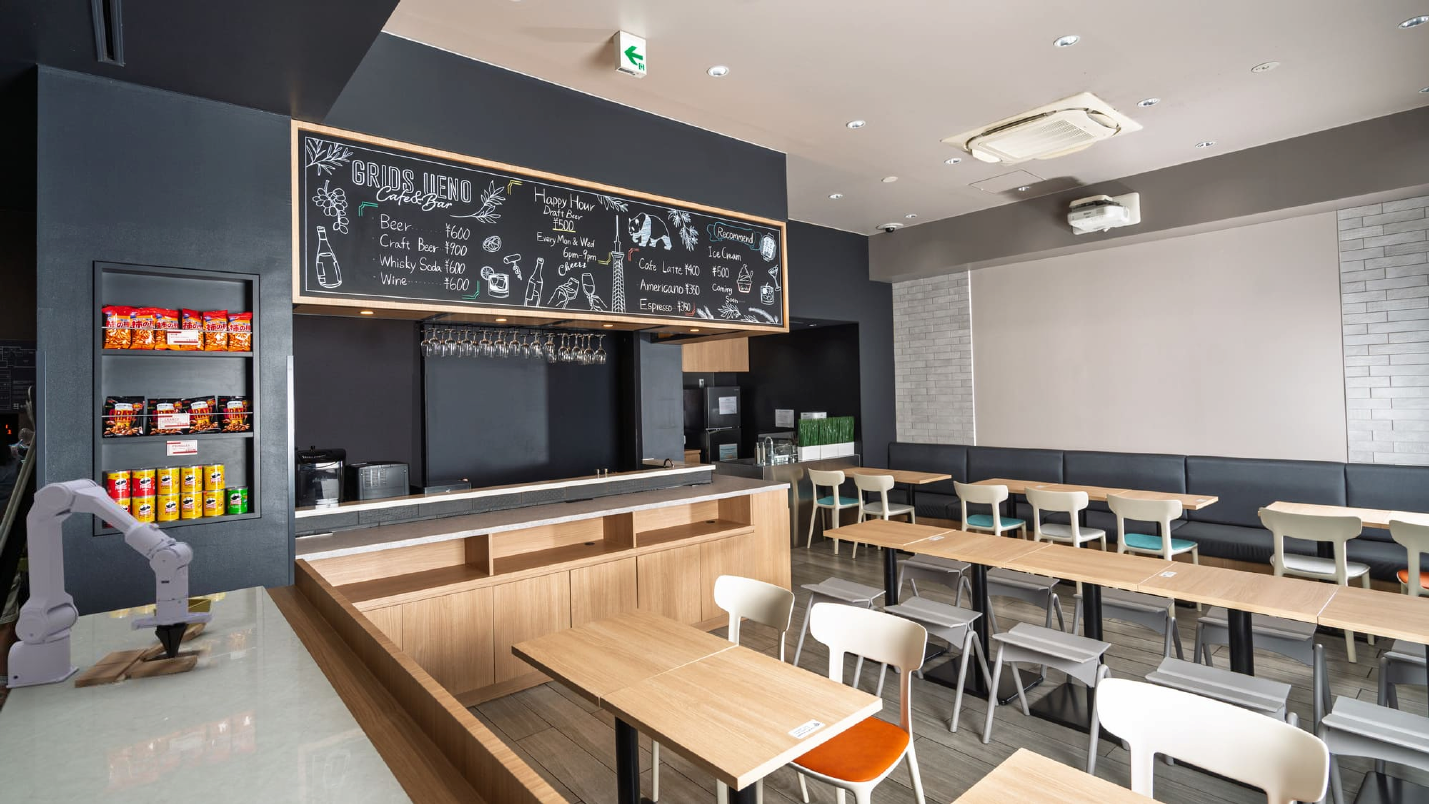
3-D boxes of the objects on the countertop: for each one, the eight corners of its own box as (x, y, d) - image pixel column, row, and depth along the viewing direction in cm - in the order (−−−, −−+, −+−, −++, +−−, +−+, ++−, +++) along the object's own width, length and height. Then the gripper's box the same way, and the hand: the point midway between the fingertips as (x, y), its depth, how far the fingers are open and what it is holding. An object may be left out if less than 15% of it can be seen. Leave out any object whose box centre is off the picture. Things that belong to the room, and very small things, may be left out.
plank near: (124, 679, 150) (124, 672, 150) (135, 670, 156) (135, 663, 156) (188, 670, 155) (188, 663, 155) (197, 661, 160) (197, 654, 160)
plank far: (141, 663, 159) (138, 657, 159) (151, 654, 165) (148, 649, 165) (196, 635, 163) (193, 630, 163) (204, 628, 169) (201, 622, 169)
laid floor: (74, 687, 146) (74, 680, 146) (111, 658, 163) (111, 652, 163) (122, 681, 149) (122, 674, 149) (153, 653, 166) (153, 647, 166)
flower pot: (186, 643, 173) (186, 608, 173) (152, 644, 173) (152, 608, 173) (212, 632, 181) (212, 598, 181) (180, 632, 182) (180, 598, 182)
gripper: (125, 606, 149) (125, 667, 149) (205, 598, 155) (205, 658, 155) (138, 597, 156) (138, 656, 156) (214, 590, 161) (214, 648, 161)
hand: (172, 656), depth 156 cm, fingers closed
